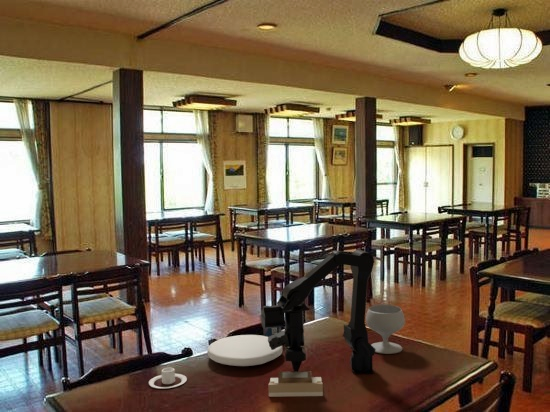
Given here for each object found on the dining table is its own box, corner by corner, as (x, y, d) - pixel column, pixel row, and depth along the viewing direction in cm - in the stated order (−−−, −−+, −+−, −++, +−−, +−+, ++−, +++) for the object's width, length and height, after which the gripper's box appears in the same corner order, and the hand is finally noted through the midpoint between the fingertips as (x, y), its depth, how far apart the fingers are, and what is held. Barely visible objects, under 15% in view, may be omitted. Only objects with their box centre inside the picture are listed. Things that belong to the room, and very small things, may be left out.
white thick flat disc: (221, 331, 206) (288, 333, 201) (221, 347, 206) (288, 351, 201) (196, 347, 179) (273, 351, 173) (196, 367, 179) (273, 371, 173)
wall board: (321, 380, 167) (320, 369, 167) (323, 395, 156) (322, 384, 156) (270, 381, 168) (270, 370, 167) (268, 396, 157) (268, 384, 156)
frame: (311, 382, 163) (311, 370, 163) (312, 390, 157) (311, 378, 157) (279, 382, 164) (278, 371, 163) (278, 390, 158) (278, 378, 157)
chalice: (379, 340, 204) (379, 301, 203) (412, 348, 194) (412, 307, 193) (358, 349, 194) (358, 309, 193) (392, 358, 184) (391, 316, 183)
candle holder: (149, 393, 163) (149, 379, 162) (148, 378, 174) (147, 365, 174) (188, 387, 166) (188, 374, 165) (184, 373, 177) (184, 361, 177)
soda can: (262, 337, 211) (261, 308, 210) (279, 335, 213) (278, 306, 212) (266, 343, 204) (265, 312, 203) (283, 341, 206) (282, 310, 205)
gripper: (269, 317, 177) (271, 362, 178) (267, 334, 158) (269, 385, 160) (303, 316, 177) (304, 361, 178) (305, 333, 158) (306, 384, 159)
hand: (295, 372), depth 169 cm, fingers closed
